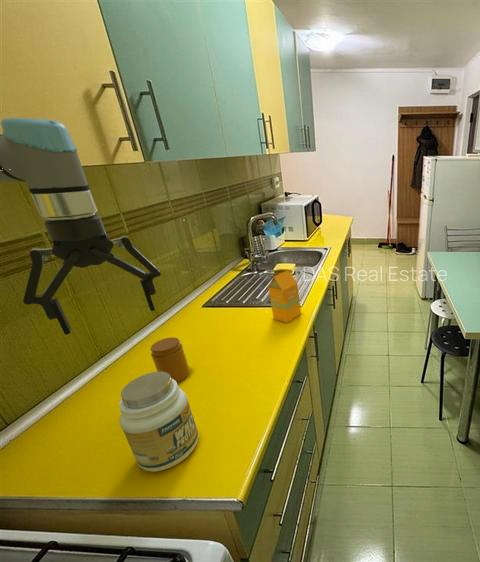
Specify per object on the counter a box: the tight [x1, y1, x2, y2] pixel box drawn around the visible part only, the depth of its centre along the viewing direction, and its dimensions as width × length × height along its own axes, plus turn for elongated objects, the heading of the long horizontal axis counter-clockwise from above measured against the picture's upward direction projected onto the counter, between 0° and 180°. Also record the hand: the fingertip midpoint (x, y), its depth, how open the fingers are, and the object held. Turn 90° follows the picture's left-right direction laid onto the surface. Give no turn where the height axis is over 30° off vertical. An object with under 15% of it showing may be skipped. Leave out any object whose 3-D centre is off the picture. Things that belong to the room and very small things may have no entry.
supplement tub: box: [118, 379, 199, 473], centre depth 68 cm, size 12×12×17 cm
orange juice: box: [268, 268, 302, 324], centre depth 126 cm, size 8×9×20 cm
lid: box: [120, 371, 174, 409], centre depth 64 cm, size 9×9×2 cm
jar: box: [149, 336, 191, 384], centre depth 93 cm, size 8×8×12 cm
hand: (112, 319), depth 63 cm, fingers open, 13 cm apart
